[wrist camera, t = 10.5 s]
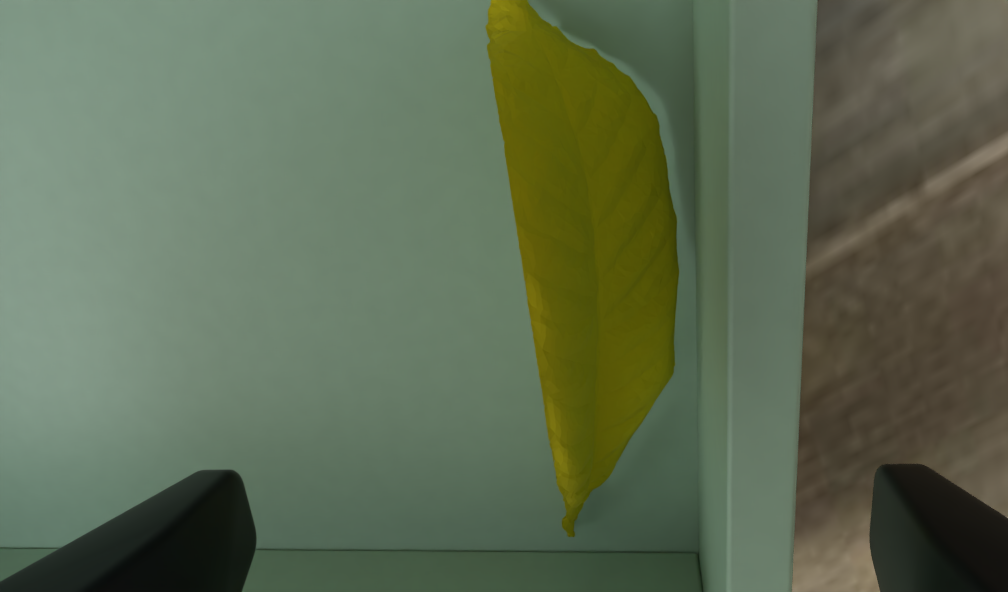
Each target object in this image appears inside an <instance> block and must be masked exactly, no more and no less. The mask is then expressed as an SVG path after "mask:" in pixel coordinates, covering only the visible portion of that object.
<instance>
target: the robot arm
mask: <svg viewBox="0 0 1008 592" xmlns="http://www.w3.org/2000/svg"><path fill="white" fill-rule="evenodd" d="M256 541H257V536H256V528H255V524H254V520H253V516H252V513H251V509H250V505H249V501H248V497H247V494H246V490H245V486H244V482H243V480H242V477H241V476H240V474H239V473H238V472H236V471H234V470H231V469H219V470H200V471H197V472H195V473H193V474H192V475H190V476H188V477H186V478H184V479H183V480H181V481H179V482H177V483H175V484H174V485H172V486H170V487H168V488H166V489H165V490H163V491H161V492H159V493H158V494H156V495H154V496H152V497H150V498H149V499H147V500H145V501H143V502H141V503H140V504H138V505H136V506H134V507H133V508H131V509H129V510H127V511H125V512H124V513H122V514H120V515H118V516H116V517H115V518H113V519H111V520H109V521H107V522H106V523H104V524H102V525H100V526H99V527H97V528H95V529H93V530H91V531H90V532H88V533H86V534H84V535H82V536H81V537H79V538H77V539H75V540H74V541H72V542H70V543H68V544H66V545H65V546H63V547H61V548H59V549H57V550H56V551H54V552H52V553H50V554H49V555H47V556H45V557H43V558H41V559H40V560H38V561H36V562H34V563H32V564H31V565H29V566H27V567H25V568H23V569H22V570H20V571H18V572H16V573H15V574H13V575H11V576H9V577H7V578H6V579H4V580H2V581H0V592H242V590H243V587H244V584H245V581H246V578H247V575H248V572H249V569H250V566H251V563H252V560H253V557H254V553H255V549H256ZM870 549H871V556H872V560H873V564H874V568H875V572H876V576H877V580H878V584H879V588H880V592H1008V518H1007V517H1005V516H1004V515H1002V514H1001V513H999V512H997V511H996V510H994V509H993V508H991V507H990V506H988V505H986V504H985V503H983V502H982V501H980V500H979V499H977V498H976V497H974V496H972V495H971V494H969V493H968V492H966V491H965V490H963V489H962V488H960V487H958V486H957V485H955V484H954V483H952V482H951V481H949V480H948V479H946V478H944V477H943V476H941V475H940V474H938V473H937V472H935V471H934V470H932V469H930V468H929V467H927V466H925V465H922V464H883V465H881V466H880V467H879V468H878V469H877V471H876V473H875V477H874V487H873V499H872V510H871V521H870Z"/></svg>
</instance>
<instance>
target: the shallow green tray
mask: <svg viewBox="0 0 1008 592" xmlns="http://www.w3.org/2000/svg"><path fill="white" fill-rule="evenodd" d="M490 2H491V0H0V581H2V580H4V579H6V578H7V577H9V576H11V575H13V574H15V573H16V572H18V571H20V570H22V569H23V568H25V567H27V566H29V565H31V564H32V563H34V562H36V561H38V560H40V559H41V558H43V557H45V556H47V555H49V554H50V553H52V552H54V551H56V550H57V549H59V548H61V547H63V546H65V545H66V544H68V543H70V542H72V541H74V540H75V539H77V538H79V537H81V536H82V535H84V534H86V533H88V532H90V531H91V530H93V529H95V528H97V527H99V526H100V525H102V524H104V523H106V522H107V521H109V520H111V519H113V518H115V517H116V516H118V515H120V514H122V513H124V512H125V511H127V510H129V509H131V508H133V507H134V506H136V505H138V504H140V503H141V502H143V501H145V500H147V499H149V498H150V497H152V496H154V495H156V494H158V493H159V492H161V491H163V490H165V489H166V488H168V487H170V486H172V485H174V484H175V483H177V482H179V481H181V480H183V479H184V478H186V477H188V476H190V475H192V474H193V473H195V472H197V471H200V470H219V469H231V470H234V471H236V472H238V473H239V474H240V476H241V477H242V480H243V482H244V486H245V490H246V494H247V497H248V501H249V505H250V509H251V513H252V516H253V520H254V524H255V528H256V536H257V541H256V549H255V553H254V557H253V560H252V563H251V566H250V569H249V572H248V575H247V578H246V581H245V584H244V587H243V590H242V592H792V576H793V553H794V530H795V507H796V484H797V461H798V438H799V416H800V393H801V370H802V347H803V324H804V301H805V278H806V255H807V232H808V209H809V186H810V163H811V140H812V118H813V95H814V72H815V49H816V26H817V3H818V0H528V2H529V4H530V6H532V7H533V9H534V10H536V12H537V13H538V14H539V16H540V17H541V18H542V19H543V20H545V21H546V22H549V23H550V24H551V25H552V26H557V27H558V28H559V29H560V30H561V32H562V33H563V34H564V35H565V36H566V37H567V39H568V40H570V41H571V42H573V43H575V44H576V45H579V46H581V47H584V48H588V49H590V48H594V49H595V50H597V52H598V53H599V54H600V56H602V57H603V58H604V59H606V60H608V61H609V62H612V63H614V65H615V66H616V67H617V69H619V70H620V71H621V72H623V73H624V74H626V75H628V76H630V77H631V79H632V80H633V82H634V83H635V84H636V86H637V88H638V89H639V90H640V91H641V93H642V94H643V95H644V97H645V98H646V100H647V102H648V104H649V106H650V108H651V110H652V111H653V113H655V114H656V115H657V118H658V122H659V125H660V129H659V130H660V136H661V141H662V145H663V148H664V149H665V150H664V153H665V155H666V159H667V163H668V164H667V168H668V180H669V184H670V185H669V189H670V193H671V197H672V202H673V209H674V211H675V214H676V216H677V231H676V239H677V255H678V265H679V279H678V288H677V303H676V316H675V333H674V351H675V366H674V373H673V376H672V377H671V379H670V380H669V382H668V383H667V385H666V386H665V388H664V389H663V390H662V392H661V393H660V395H659V396H658V398H657V399H656V401H655V403H654V405H653V406H652V408H651V410H650V411H649V413H648V414H647V416H646V417H645V419H644V420H643V422H642V424H641V425H640V426H639V428H638V429H637V430H636V431H635V433H634V434H633V436H632V437H631V439H630V440H629V442H628V444H627V446H626V447H625V449H624V451H623V453H622V455H621V457H620V458H619V460H618V461H617V463H616V466H615V468H614V470H613V472H612V474H611V475H610V476H609V478H608V479H607V480H606V481H605V482H604V483H603V484H602V485H601V486H599V487H598V488H596V489H593V490H592V492H590V495H589V497H588V498H587V500H586V501H585V502H584V505H583V508H582V510H581V511H580V513H579V514H578V518H577V520H575V522H574V532H575V536H574V537H568V536H567V532H566V531H565V530H564V529H563V528H562V519H563V518H564V517H565V516H566V512H567V511H566V508H565V504H564V503H565V502H564V501H563V496H562V494H561V492H560V491H559V489H558V488H559V487H558V486H557V483H556V481H557V479H556V471H555V467H554V462H553V457H552V449H551V447H550V445H549V443H550V441H549V439H548V432H547V425H546V418H545V412H544V404H543V396H542V388H541V383H540V378H539V370H538V365H537V359H536V353H535V346H534V339H533V332H532V327H531V319H530V314H529V308H528V304H527V298H528V297H527V295H526V287H525V281H524V276H523V268H522V260H521V255H520V249H519V241H518V236H517V229H516V223H515V217H514V211H513V204H512V202H513V201H512V198H511V191H510V183H509V177H508V171H507V165H506V158H505V153H504V144H505V142H504V140H503V137H502V132H501V127H500V123H499V115H498V108H497V104H496V99H495V92H494V86H493V80H492V79H493V77H492V74H491V67H490V63H491V62H490V59H489V57H488V50H487V44H488V43H489V42H490V39H489V37H488V34H487V31H486V28H485V26H486V25H487V24H488V9H489V7H490V5H491V3H490ZM554 461H555V460H554Z"/></svg>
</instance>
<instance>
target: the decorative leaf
mask: <svg viewBox="0 0 1008 592" xmlns="http://www.w3.org/2000/svg"><path fill="white" fill-rule="evenodd" d="M490 3H491V5H490V7H489V9H488V24H487V25H486V26H485V28H486V31H487V34H488V37H489V39H490V42H489V43H488V44H487V50H488V57H489V59H490V62H491V63H490V67H491V74H492V77H493V79H492V80H493V86H494V92H495V99H496V104H497V108H498V115H499V123H500V127H501V132H502V137H503V140H504V142H505V144H504V153H505V158H506V165H507V171H508V177H509V183H510V191H511V198H512V201H513V202H512V204H513V211H514V217H515V223H516V229H517V236H518V241H519V249H520V255H521V260H522V268H523V276H524V281H525V287H526V295H527V297H528V298H527V304H528V308H529V314H530V319H531V327H532V332H533V339H534V346H535V353H536V359H537V365H538V370H539V378H540V383H541V388H542V396H543V404H544V412H545V418H546V425H547V432H548V439H549V441H550V443H549V445H550V447H551V449H552V457H553V462H554V467H555V471H556V479H557V481H556V483H557V486H558V487H559V488H558V489H559V491H560V492H561V494H562V496H563V501H564V502H565V503H564V504H565V508H566V511H567V512H566V516H565V517H564V518H563V519H562V528H563V529H564V530H565V531H566V532H567V536H568V537H574V536H575V532H574V522H575V520H577V518H578V514H579V513H580V511H581V510H582V508H583V505H584V502H585V501H586V500H587V498H588V497H589V495H590V492H592V490H593V489H596V488H598V487H599V486H601V485H602V484H603V483H604V482H605V481H606V480H607V479H608V478H609V476H610V475H611V474H612V472H613V470H614V468H615V466H616V463H617V461H618V460H619V458H620V457H621V455H622V453H623V451H624V449H625V447H626V446H627V444H628V442H629V440H630V439H631V437H632V436H633V434H634V433H635V431H636V430H637V429H638V428H639V426H640V425H641V424H642V422H643V420H644V419H645V417H646V416H647V414H648V413H649V411H650V410H651V408H652V406H653V405H654V403H655V401H656V399H657V398H658V396H659V395H660V393H661V392H662V390H663V389H664V388H665V386H666V385H667V383H668V382H669V380H670V379H671V377H672V376H673V373H674V366H675V351H674V333H675V316H676V303H677V288H678V279H679V265H678V255H677V239H676V231H677V216H676V214H675V211H674V209H673V202H672V197H671V193H670V189H669V185H670V184H669V180H668V168H667V164H668V163H667V159H666V155H665V153H664V150H665V149H664V148H663V145H662V141H661V136H660V130H659V129H660V125H659V122H658V118H657V115H656V114H655V113H653V111H652V110H651V108H650V106H649V104H648V102H647V100H646V98H645V97H644V95H643V94H642V93H641V91H640V90H639V89H638V88H637V86H636V84H635V83H634V82H633V80H632V79H631V77H630V76H628V75H626V74H624V73H623V72H621V71H620V70H619V69H617V67H616V66H615V65H614V63H612V62H609V61H608V60H606V59H604V58H603V57H602V56H600V54H599V53H598V52H597V50H595V49H594V48H590V49H588V48H584V47H581V46H579V45H576V44H575V43H573V42H571V41H570V40H568V39H567V37H566V36H565V35H564V34H563V33H562V32H561V30H560V29H559V28H558V27H557V26H552V25H551V24H550V23H549V22H546V21H545V20H543V19H542V18H541V17H540V16H539V14H538V13H537V12H536V10H534V9H533V7H532V6H530V4H529V2H528V0H491V2H490ZM554 460H555V461H554Z"/></svg>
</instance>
